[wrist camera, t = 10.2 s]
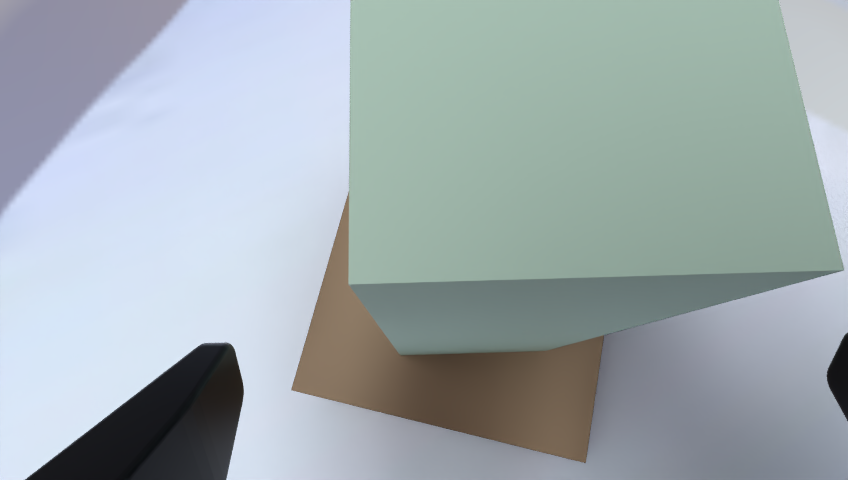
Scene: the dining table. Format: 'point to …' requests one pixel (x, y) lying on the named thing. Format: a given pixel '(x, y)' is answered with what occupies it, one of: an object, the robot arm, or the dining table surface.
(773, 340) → the dining table surface
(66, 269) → the dining table surface
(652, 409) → the dining table surface
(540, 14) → the tall green block
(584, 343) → the walnut block
